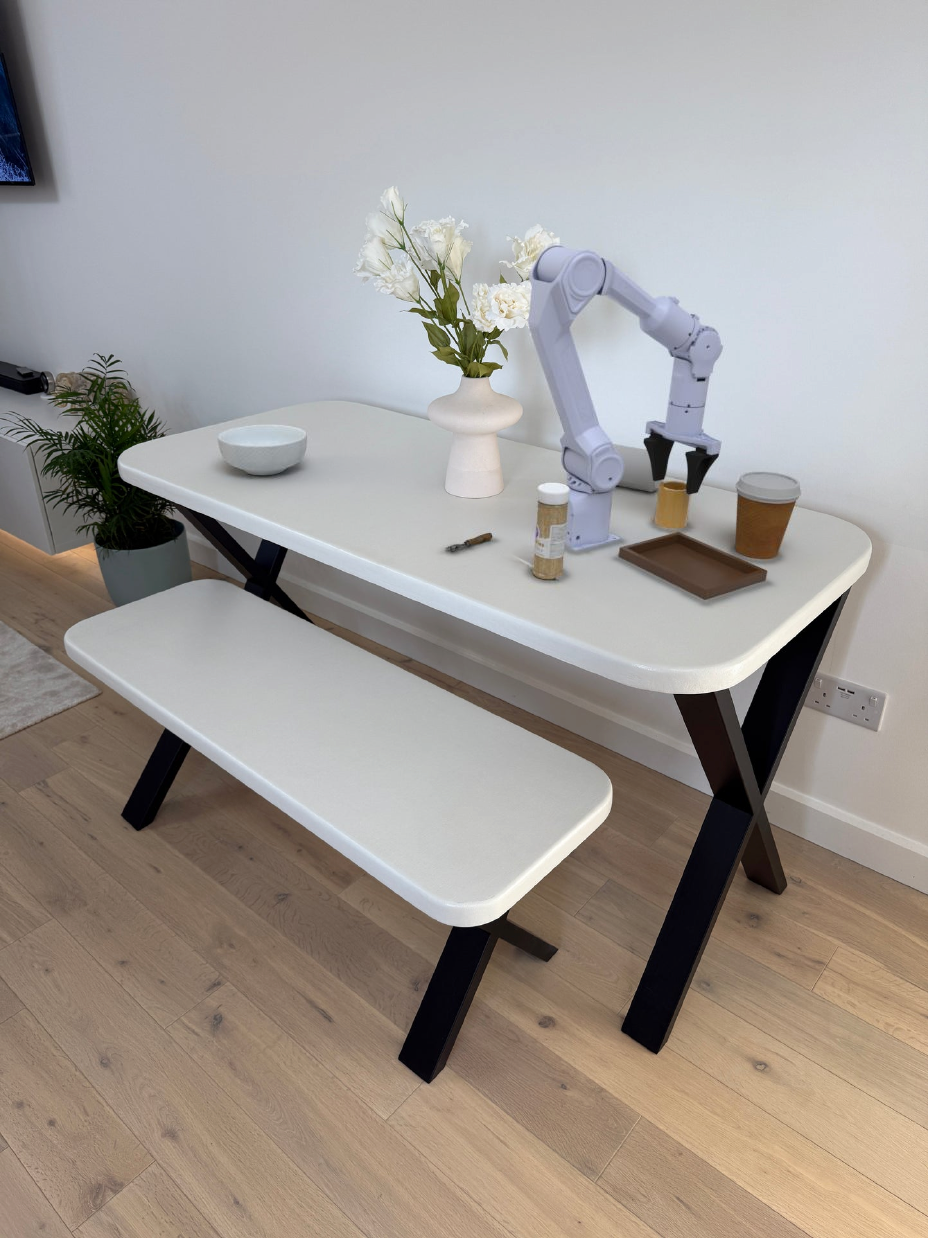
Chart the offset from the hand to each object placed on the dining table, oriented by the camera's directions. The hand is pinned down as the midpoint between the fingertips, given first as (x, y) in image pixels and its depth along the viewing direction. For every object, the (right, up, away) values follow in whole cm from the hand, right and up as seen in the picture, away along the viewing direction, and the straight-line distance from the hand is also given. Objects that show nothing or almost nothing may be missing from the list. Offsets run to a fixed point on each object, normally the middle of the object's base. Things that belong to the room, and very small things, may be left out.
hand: (674, 486), depth 140 cm
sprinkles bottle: (-22, -15, -15) cm, 31 cm away
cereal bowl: (-74, +7, +27) cm, 79 cm away
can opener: (-34, -10, -6) cm, 36 cm away
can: (+2, +5, +17) cm, 18 cm away
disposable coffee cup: (+11, -12, -7) cm, 18 cm away
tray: (-1, -15, -13) cm, 20 cm away
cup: (0, -6, +3) cm, 7 cm away
